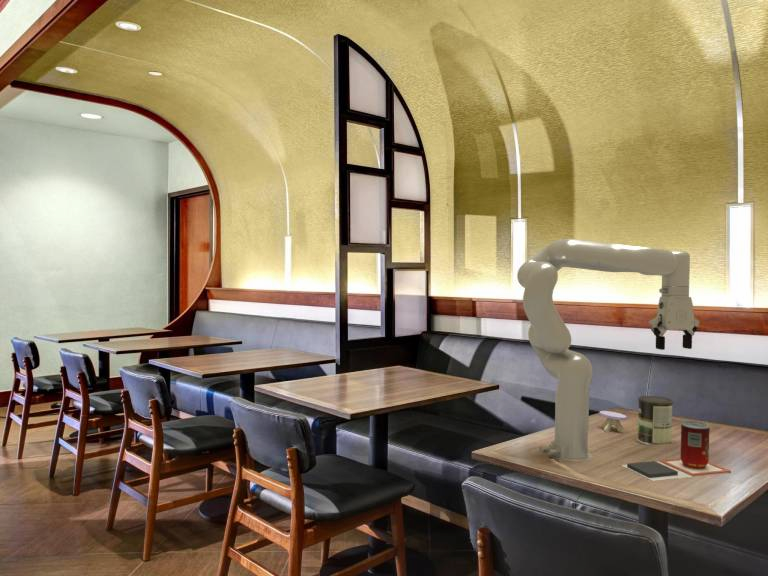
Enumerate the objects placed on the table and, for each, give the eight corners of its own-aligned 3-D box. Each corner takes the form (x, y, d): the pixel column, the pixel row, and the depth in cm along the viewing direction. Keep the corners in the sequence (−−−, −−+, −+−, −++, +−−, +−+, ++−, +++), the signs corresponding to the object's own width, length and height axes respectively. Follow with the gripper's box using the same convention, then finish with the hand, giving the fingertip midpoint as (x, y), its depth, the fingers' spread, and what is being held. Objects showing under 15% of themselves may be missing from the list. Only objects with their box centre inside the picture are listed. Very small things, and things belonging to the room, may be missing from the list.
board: (652, 485, 161) (652, 480, 161) (620, 469, 174) (621, 465, 174) (727, 477, 168) (727, 473, 168) (691, 462, 180) (691, 458, 180)
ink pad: (649, 478, 163) (649, 474, 163) (627, 467, 172) (627, 463, 172) (677, 475, 166) (677, 471, 166) (654, 464, 174) (654, 461, 174)
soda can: (711, 471, 168) (712, 426, 168) (682, 469, 170) (683, 424, 170) (705, 463, 175) (706, 420, 175) (678, 461, 177) (679, 418, 176)
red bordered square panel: (692, 476, 165) (692, 474, 165) (659, 461, 177) (659, 460, 177) (730, 472, 168) (730, 470, 168) (695, 458, 180) (695, 456, 180)
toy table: (592, 427, 218) (593, 411, 218) (612, 425, 222) (612, 409, 222) (613, 435, 209) (613, 418, 209) (633, 432, 213) (633, 415, 213)
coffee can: (634, 443, 199) (635, 400, 199) (639, 436, 208) (641, 394, 208) (669, 448, 194) (671, 404, 193) (673, 440, 203) (674, 398, 202)
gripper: (659, 293, 180) (658, 351, 181) (708, 292, 185) (706, 349, 186) (642, 291, 188) (641, 347, 188) (689, 291, 192) (688, 346, 193)
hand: (673, 348), depth 187 cm, fingers open, 9 cm apart
